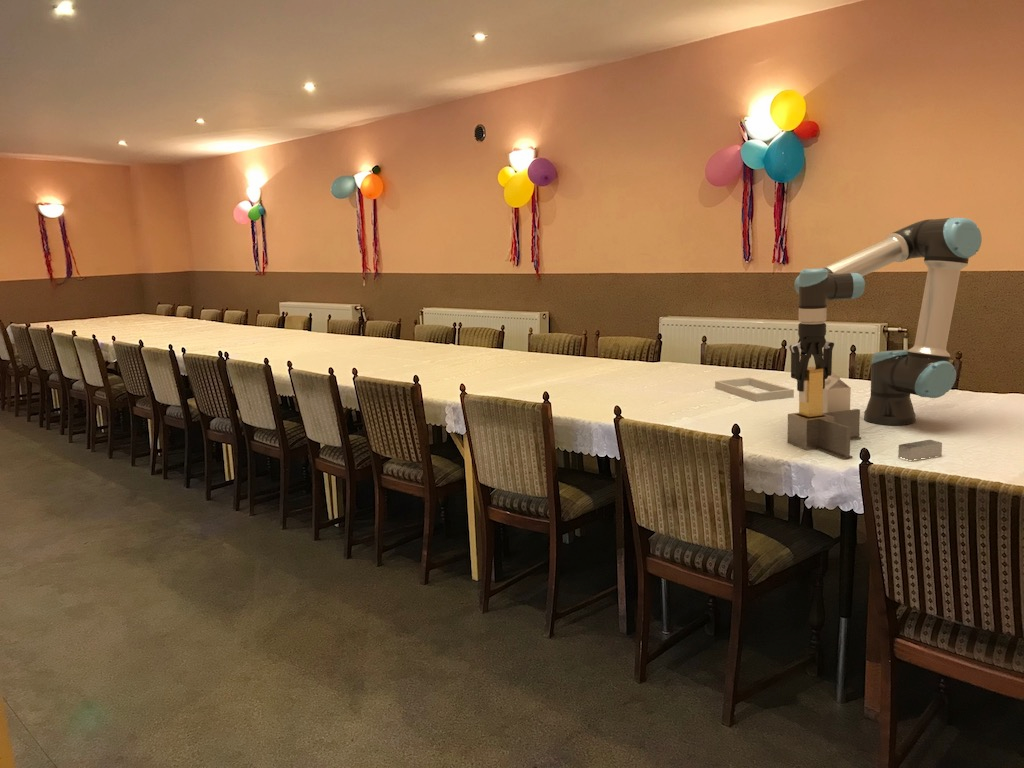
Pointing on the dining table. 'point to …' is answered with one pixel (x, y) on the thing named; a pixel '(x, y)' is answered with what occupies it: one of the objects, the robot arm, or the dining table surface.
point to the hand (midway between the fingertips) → (810, 400)
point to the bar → (920, 449)
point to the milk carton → (835, 395)
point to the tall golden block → (813, 393)
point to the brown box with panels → (825, 432)
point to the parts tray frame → (775, 393)
